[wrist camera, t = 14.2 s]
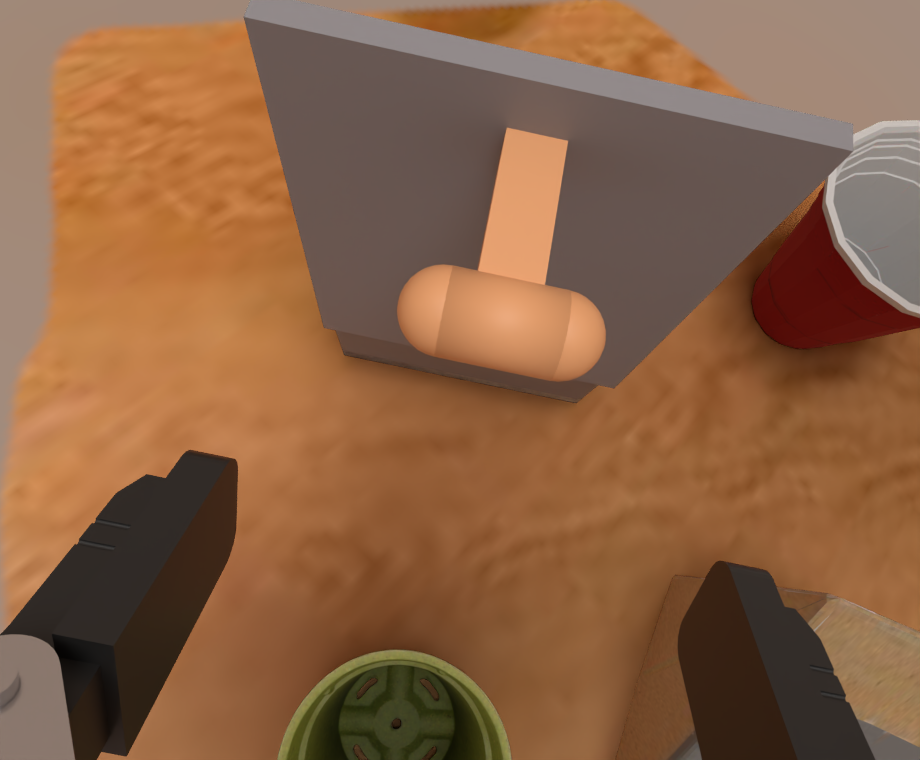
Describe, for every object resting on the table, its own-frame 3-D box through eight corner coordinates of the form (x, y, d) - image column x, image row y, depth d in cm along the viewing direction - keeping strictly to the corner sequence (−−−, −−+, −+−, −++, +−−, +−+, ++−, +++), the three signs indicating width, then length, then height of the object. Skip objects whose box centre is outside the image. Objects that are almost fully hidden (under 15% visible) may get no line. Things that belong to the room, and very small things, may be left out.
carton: (408, 95, 43) (408, 27, 38) (616, 141, 44) (648, 80, 38) (344, 354, 39) (333, 322, 33) (576, 403, 39) (605, 379, 34)
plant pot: (401, 586, 36) (399, 601, 28) (523, 718, 35) (560, 774, 27) (268, 720, 34) (223, 779, 26) (394, 864, 33) (390, 974, 25)
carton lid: (253, -9, 15) (151, 251, 13) (852, 123, 16) (857, 400, 13) (328, 313, 32) (289, 451, 30) (615, 373, 33) (599, 514, 30)
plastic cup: (899, 272, 43) (1080, 173, 32) (846, 417, 41) (1022, 367, 29) (748, 197, 44) (871, 72, 32) (686, 335, 41) (796, 253, 29)
